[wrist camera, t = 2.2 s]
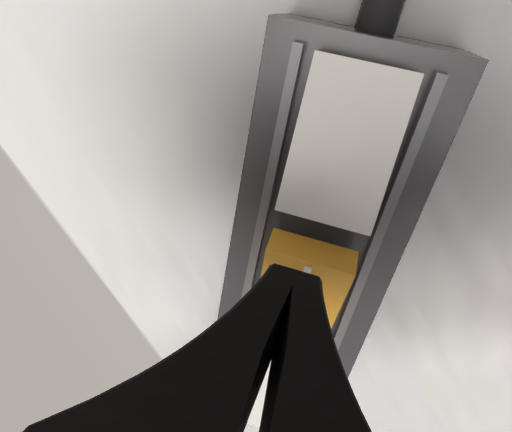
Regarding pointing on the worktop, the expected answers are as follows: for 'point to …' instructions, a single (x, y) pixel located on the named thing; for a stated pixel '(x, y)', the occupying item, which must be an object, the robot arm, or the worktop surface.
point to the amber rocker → (315, 264)
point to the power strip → (403, 174)
